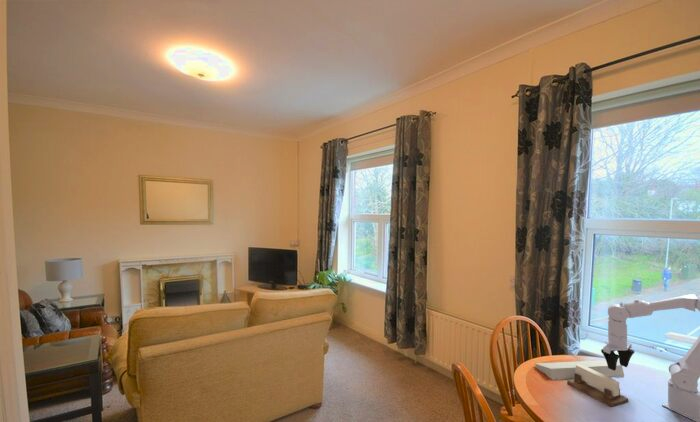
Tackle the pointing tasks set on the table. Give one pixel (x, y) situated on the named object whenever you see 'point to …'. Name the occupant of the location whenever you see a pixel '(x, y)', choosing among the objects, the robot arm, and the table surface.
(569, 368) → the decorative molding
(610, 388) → the cream rectangular block
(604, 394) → the walnut rack
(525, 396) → the table surface
